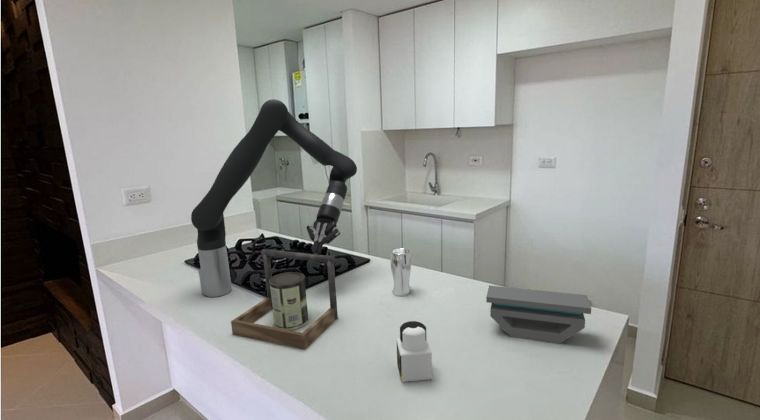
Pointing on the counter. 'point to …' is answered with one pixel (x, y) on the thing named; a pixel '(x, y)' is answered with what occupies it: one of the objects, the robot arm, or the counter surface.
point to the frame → (266, 333)
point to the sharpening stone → (538, 313)
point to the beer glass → (401, 271)
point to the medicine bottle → (413, 353)
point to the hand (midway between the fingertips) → (315, 253)
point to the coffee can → (289, 300)
